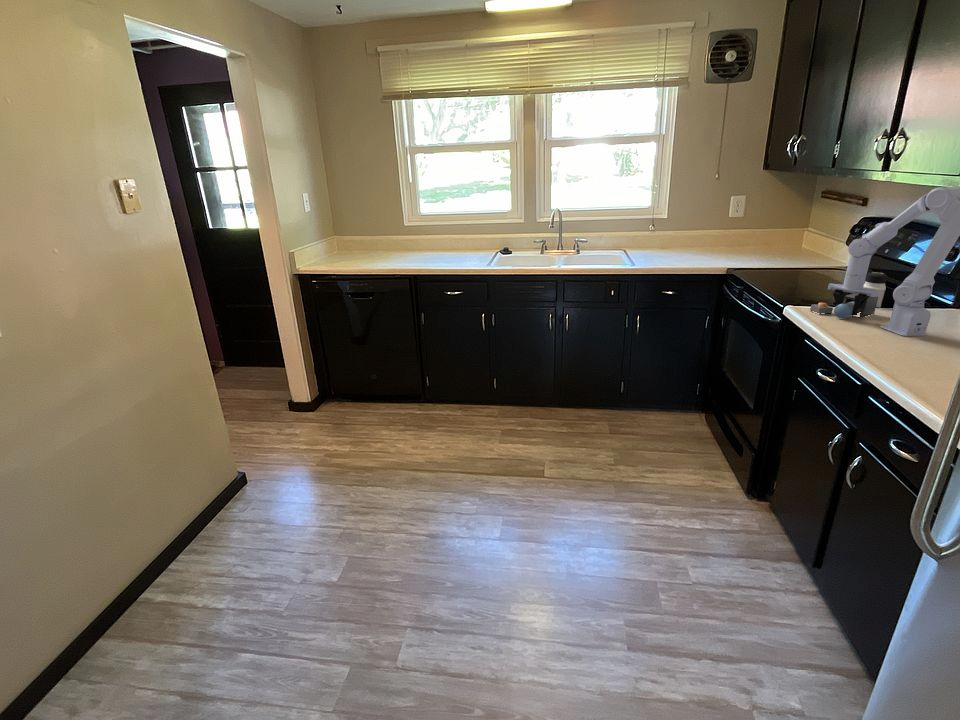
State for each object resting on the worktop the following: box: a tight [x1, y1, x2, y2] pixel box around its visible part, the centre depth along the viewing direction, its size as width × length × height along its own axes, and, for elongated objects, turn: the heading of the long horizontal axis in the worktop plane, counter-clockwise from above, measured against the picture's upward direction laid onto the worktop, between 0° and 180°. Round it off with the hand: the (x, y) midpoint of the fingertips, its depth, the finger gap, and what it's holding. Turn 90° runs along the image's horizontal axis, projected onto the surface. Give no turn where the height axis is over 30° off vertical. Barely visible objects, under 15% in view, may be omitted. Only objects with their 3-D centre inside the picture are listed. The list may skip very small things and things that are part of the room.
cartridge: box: [833, 301, 862, 319], centre depth 180 cm, size 15×5×5 cm, turn 122°
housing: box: [843, 293, 879, 318], centre depth 182 cm, size 9×7×6 cm
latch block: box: [809, 304, 834, 314], centre depth 185 cm, size 5×5×2 cm
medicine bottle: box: [863, 272, 888, 309], centre depth 192 cm, size 7×7×12 cm
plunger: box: [818, 302, 828, 307], centre depth 185 cm, size 3×3×3 cm
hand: (846, 313), depth 178 cm, fingers closed on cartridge, 4 cm apart
